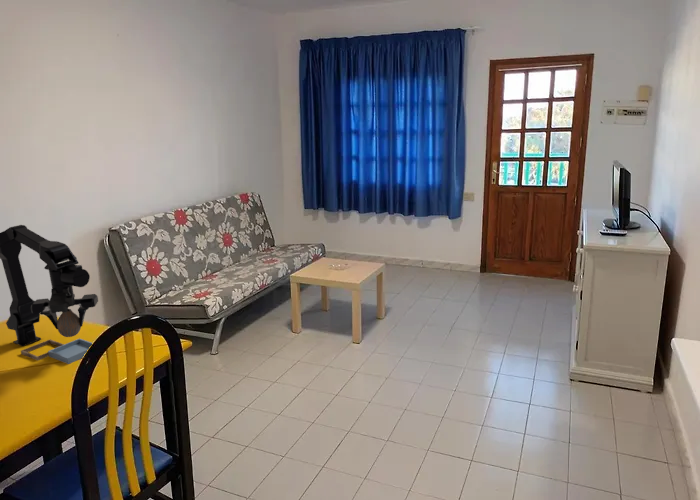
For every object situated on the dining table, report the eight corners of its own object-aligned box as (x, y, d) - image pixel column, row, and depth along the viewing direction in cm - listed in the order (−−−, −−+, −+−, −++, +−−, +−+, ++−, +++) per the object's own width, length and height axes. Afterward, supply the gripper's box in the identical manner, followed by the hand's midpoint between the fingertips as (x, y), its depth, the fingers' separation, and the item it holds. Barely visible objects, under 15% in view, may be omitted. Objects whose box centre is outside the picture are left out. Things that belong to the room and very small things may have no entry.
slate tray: (49, 356, 172) (48, 351, 172) (80, 343, 181) (79, 338, 181) (68, 364, 166) (67, 358, 166) (99, 350, 176) (98, 344, 175)
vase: (72, 340, 168) (68, 314, 166) (53, 338, 169) (49, 313, 167) (86, 331, 175) (83, 307, 172) (68, 329, 176) (65, 305, 174)
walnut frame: (21, 354, 174) (20, 350, 174) (50, 342, 183) (50, 339, 182) (37, 360, 169) (37, 357, 169) (67, 348, 178) (66, 345, 177)
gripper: (20, 294, 157) (30, 341, 162) (87, 288, 162) (94, 334, 166) (32, 282, 168) (41, 327, 172) (94, 277, 172) (101, 320, 176)
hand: (69, 327), depth 171 cm, fingers closed on vase, 7 cm apart
